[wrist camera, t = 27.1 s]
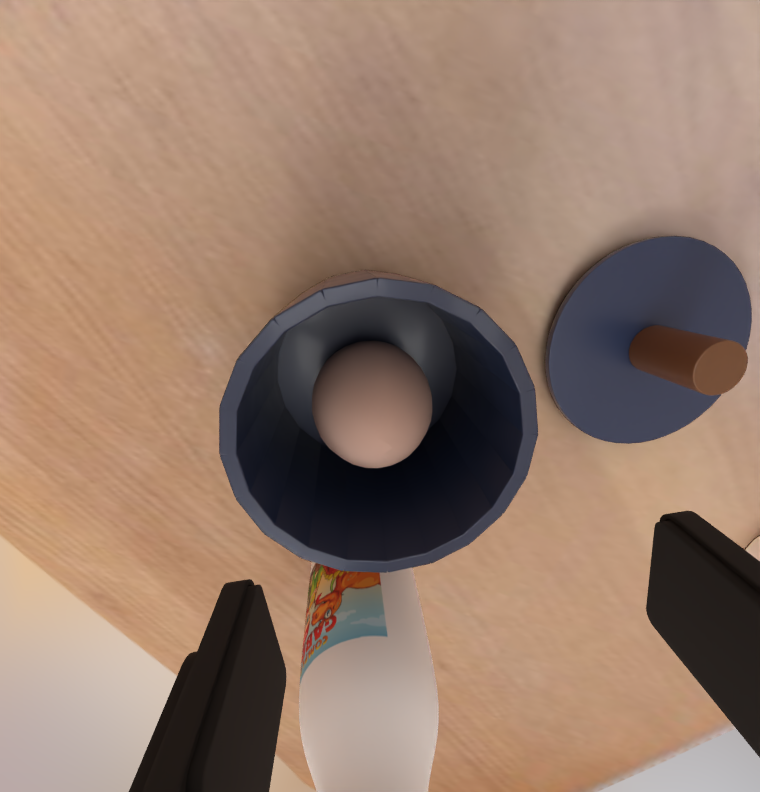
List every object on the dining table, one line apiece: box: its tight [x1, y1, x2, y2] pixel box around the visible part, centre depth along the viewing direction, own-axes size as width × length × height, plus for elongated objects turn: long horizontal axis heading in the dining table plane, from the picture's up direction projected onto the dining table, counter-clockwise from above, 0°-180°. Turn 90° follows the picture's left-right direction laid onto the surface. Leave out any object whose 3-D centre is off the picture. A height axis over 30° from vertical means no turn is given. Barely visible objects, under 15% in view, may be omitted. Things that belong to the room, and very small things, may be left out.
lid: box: [545, 236, 752, 444], centre depth 26 cm, size 14×14×7 cm
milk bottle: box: [299, 562, 439, 792], centre depth 23 cm, size 8×8×20 cm
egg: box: [312, 341, 432, 468], centre depth 23 cm, size 7×7×10 cm
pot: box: [219, 270, 538, 573], centre depth 23 cm, size 13×13×12 cm
